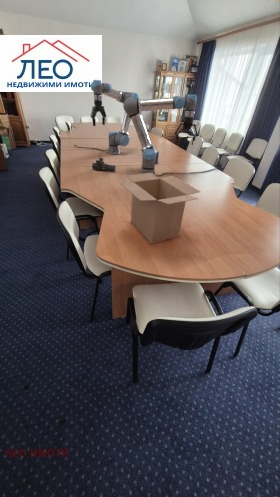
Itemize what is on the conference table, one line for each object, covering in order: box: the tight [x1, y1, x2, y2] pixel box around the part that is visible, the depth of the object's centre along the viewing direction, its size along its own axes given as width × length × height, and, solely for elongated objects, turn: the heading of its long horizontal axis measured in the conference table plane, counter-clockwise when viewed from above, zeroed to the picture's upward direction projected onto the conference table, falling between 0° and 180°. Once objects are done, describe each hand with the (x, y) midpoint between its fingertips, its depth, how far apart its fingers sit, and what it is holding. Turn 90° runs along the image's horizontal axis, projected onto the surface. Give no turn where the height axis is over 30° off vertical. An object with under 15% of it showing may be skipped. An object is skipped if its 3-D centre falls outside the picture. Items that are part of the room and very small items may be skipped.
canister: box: [155, 150, 160, 165], centre depth 242 cm, size 7×7×12 cm
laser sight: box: [91, 157, 117, 173], centre depth 211 cm, size 10×22×10 cm, turn 78°
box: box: [117, 173, 201, 245], centre depth 124 cm, size 44×36×27 cm
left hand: (99, 125), depth 223 cm, fingers open, 13 cm apart
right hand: (184, 144), depth 198 cm, fingers open, 13 cm apart
